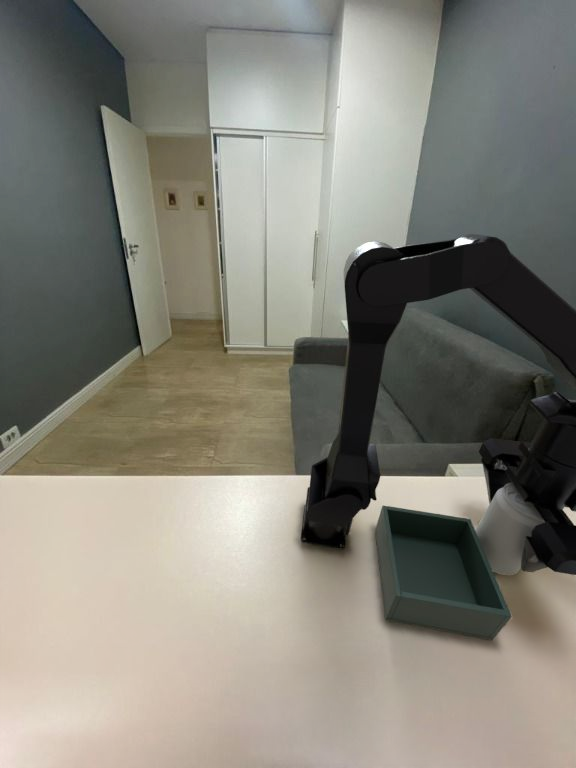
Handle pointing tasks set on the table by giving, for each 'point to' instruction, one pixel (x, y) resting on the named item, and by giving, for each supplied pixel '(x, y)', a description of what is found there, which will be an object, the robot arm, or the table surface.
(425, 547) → the shallow open box
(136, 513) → the table surface
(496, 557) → the beverage can
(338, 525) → the robot arm
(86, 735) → the table surface
